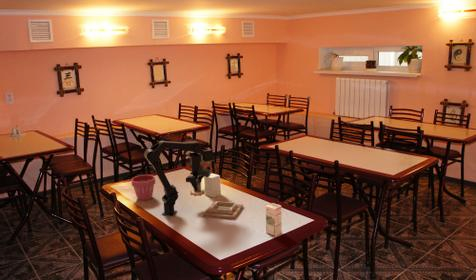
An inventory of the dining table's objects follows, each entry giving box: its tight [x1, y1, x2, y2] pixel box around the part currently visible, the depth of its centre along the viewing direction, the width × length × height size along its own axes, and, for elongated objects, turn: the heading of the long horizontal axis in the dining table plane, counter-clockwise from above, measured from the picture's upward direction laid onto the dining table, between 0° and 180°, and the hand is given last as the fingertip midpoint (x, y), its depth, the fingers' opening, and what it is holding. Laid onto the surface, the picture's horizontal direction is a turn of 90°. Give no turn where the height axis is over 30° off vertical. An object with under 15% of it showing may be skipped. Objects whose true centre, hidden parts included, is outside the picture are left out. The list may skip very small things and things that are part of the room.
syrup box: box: [265, 202, 283, 237], centre depth 211 cm, size 6×6×14 cm
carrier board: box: [202, 200, 244, 220], centre depth 241 cm, size 18×18×4 cm
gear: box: [190, 181, 205, 197], centre depth 245 cm, size 8×8×6 cm
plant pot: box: [131, 174, 156, 201], centre depth 265 cm, size 14×14×13 cm
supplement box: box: [203, 172, 222, 198], centre depth 267 cm, size 7×7×13 cm
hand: (197, 189), depth 245 cm, fingers closed on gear, 4 cm apart
